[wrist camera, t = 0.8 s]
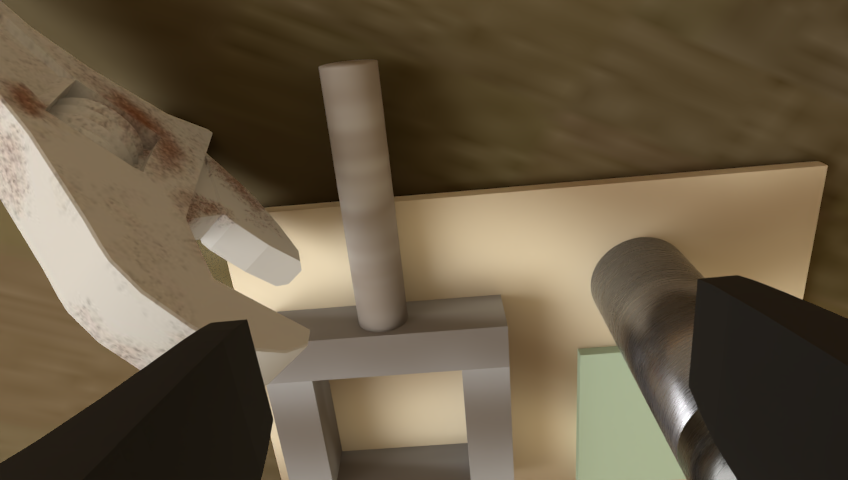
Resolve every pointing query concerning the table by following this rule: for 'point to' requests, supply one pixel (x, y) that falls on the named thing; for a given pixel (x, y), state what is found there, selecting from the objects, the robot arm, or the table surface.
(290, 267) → the wrench
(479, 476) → the chuck board
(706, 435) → the dark metal cylinder
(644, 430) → the rubber mat
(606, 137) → the table surface
